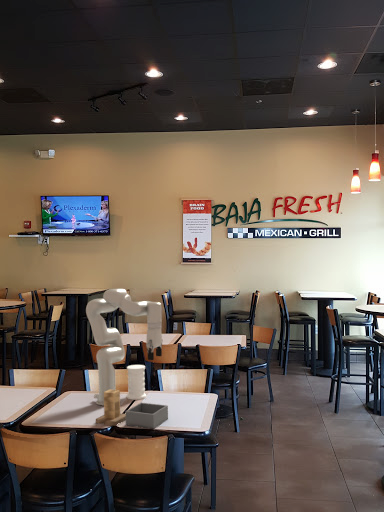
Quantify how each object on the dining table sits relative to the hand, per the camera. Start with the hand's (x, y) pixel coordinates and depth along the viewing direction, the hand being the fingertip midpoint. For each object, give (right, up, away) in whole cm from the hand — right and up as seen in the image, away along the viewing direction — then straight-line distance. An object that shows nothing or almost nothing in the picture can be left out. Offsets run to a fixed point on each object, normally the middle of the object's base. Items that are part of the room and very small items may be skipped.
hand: (154, 358), depth 259 cm
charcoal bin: (-3, -30, -13) cm, 32 cm away
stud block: (-21, -30, -9) cm, 38 cm away
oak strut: (-21, -28, -9) cm, 36 cm away
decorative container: (-13, -30, +33) cm, 47 cm away
